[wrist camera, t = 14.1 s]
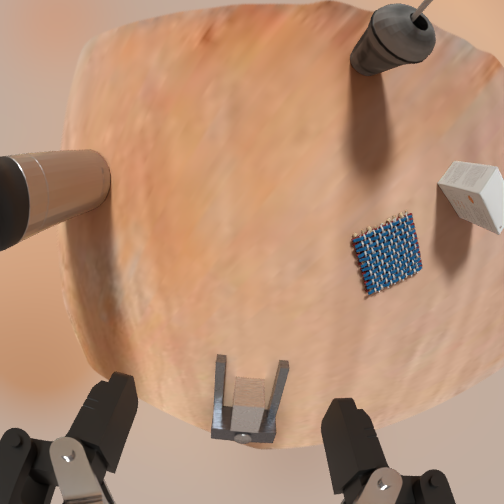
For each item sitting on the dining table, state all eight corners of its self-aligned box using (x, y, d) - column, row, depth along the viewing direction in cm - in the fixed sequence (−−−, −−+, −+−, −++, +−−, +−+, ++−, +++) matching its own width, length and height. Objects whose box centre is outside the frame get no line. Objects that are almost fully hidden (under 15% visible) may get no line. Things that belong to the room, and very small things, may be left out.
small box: (475, 195, 35) (516, 208, 25) (458, 218, 36) (499, 236, 26) (453, 159, 33) (498, 165, 23) (435, 182, 35) (480, 194, 25)
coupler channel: (214, 416, 50) (210, 441, 44) (217, 354, 45) (212, 382, 38) (271, 420, 51) (272, 446, 44) (288, 360, 45) (292, 388, 38)
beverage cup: (372, 94, 31) (463, 57, 12) (330, 61, 30) (393, -10, 11) (395, 64, 29) (483, 20, 10) (356, 31, 28) (423, -37, 9)
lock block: (232, 404, 49) (230, 431, 42) (235, 376, 46) (233, 405, 40) (257, 406, 49) (257, 433, 43) (263, 378, 46) (264, 407, 40)
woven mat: (420, 266, 40) (426, 271, 38) (365, 292, 41) (369, 298, 39) (407, 207, 37) (414, 209, 35) (347, 233, 38) (351, 237, 36)
